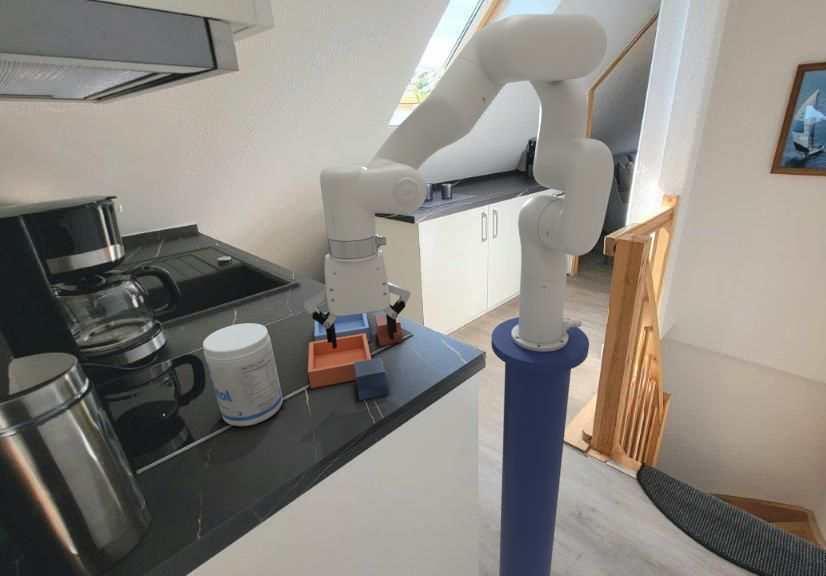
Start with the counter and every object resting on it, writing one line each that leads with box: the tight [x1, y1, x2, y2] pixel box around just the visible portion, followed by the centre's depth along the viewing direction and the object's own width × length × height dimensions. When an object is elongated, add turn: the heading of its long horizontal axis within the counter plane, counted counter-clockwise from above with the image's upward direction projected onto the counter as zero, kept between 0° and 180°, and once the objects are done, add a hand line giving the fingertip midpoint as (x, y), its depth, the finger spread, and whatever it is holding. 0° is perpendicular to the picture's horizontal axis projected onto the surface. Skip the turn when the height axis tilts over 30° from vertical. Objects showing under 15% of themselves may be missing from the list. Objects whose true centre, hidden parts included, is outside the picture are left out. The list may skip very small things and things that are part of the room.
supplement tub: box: [202, 322, 284, 427], centre depth 67 cm, size 10×10×15 cm
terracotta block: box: [374, 314, 403, 346], centre depth 92 cm, size 5×5×5 cm
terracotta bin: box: [307, 333, 372, 389], centre depth 82 cm, size 12×12×4 cm
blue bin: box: [313, 311, 371, 343], centre depth 94 cm, size 12×12×4 cm
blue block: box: [354, 357, 388, 401], centre depth 74 cm, size 5×5×5 cm
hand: (363, 340), depth 71 cm, fingers open, 9 cm apart
